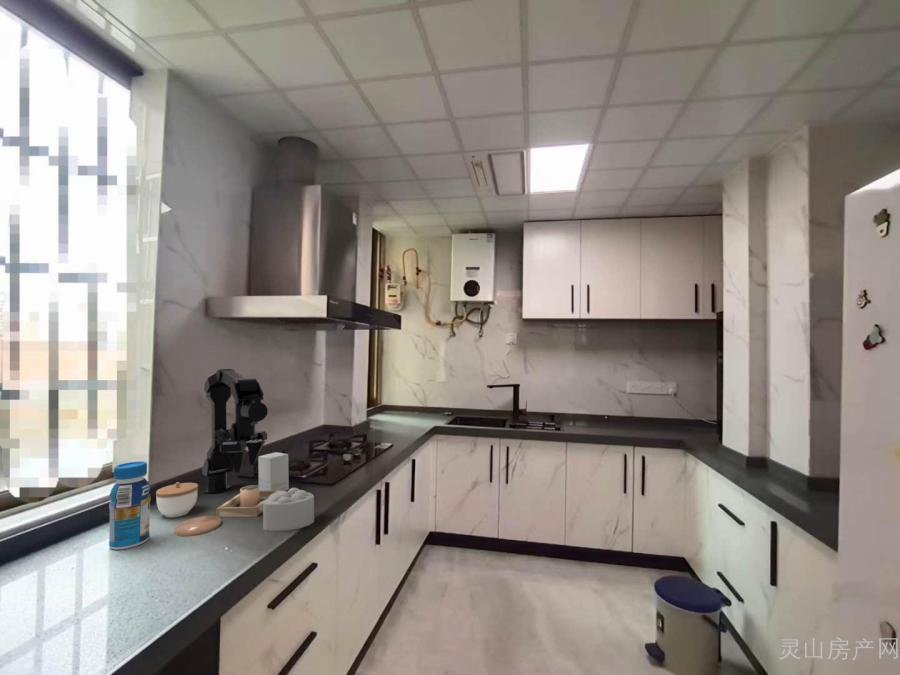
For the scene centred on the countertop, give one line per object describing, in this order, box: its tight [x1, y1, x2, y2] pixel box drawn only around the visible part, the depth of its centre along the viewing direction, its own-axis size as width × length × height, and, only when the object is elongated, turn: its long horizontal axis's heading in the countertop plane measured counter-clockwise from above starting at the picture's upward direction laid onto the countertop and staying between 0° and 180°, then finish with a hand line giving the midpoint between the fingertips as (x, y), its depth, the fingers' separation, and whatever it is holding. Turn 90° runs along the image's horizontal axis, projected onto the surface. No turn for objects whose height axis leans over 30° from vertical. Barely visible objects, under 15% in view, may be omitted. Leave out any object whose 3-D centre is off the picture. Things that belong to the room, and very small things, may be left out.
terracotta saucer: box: [173, 515, 222, 537], centre depth 113 cm, size 11×11×1 cm
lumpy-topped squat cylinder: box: [262, 487, 315, 532], centre depth 115 cm, size 10×13×9 cm
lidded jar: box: [155, 481, 199, 519], centre depth 124 cm, size 11×11×9 cm
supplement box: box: [257, 451, 290, 492], centre depth 143 cm, size 7×7×13 cm
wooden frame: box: [215, 490, 279, 518], centre depth 128 cm, size 16×12×2 cm
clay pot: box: [239, 484, 260, 507], centre depth 128 cm, size 6×6×6 cm
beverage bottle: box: [108, 460, 152, 551], centre depth 105 cm, size 8×8×20 cm
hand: (245, 468), depth 128 cm, fingers open, 9 cm apart
